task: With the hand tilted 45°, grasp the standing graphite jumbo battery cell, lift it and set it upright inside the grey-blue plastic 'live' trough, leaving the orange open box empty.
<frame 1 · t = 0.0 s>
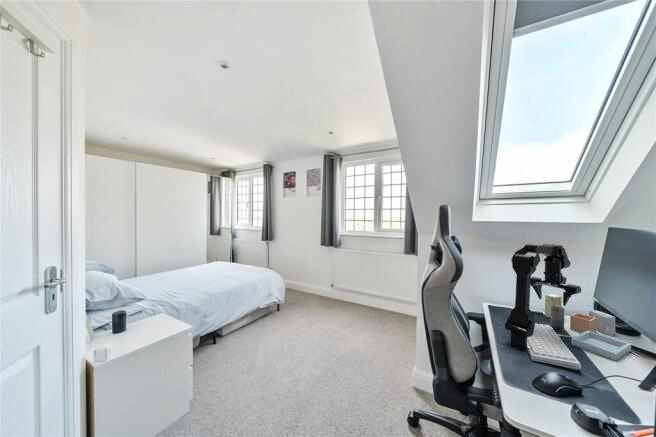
hand: (552, 302, 117), 15 cm above the table, tool pointing down, fingers open, 9 cm apart
orange open box: (582, 330, 119), on the table
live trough: (600, 348, 104), on the table
skincare box: (552, 317, 134), on the table
cell: (557, 329, 120), on the table
medicine box: (601, 331, 118), on the table
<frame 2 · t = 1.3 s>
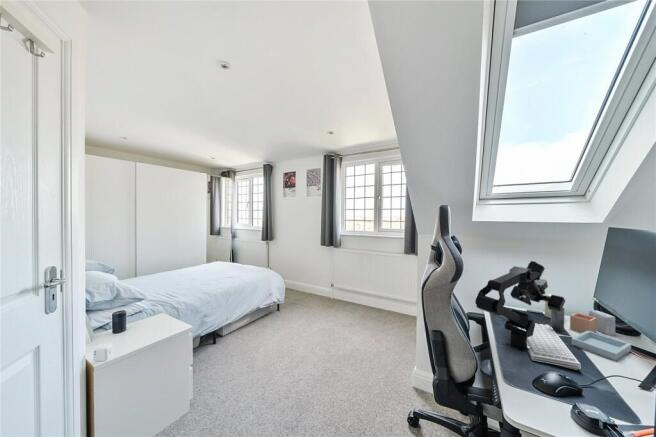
hand: (542, 307, 113), 13 cm above the table, tool tilted 45°, fingers open, 9 cm apart
nothing on the table moved.
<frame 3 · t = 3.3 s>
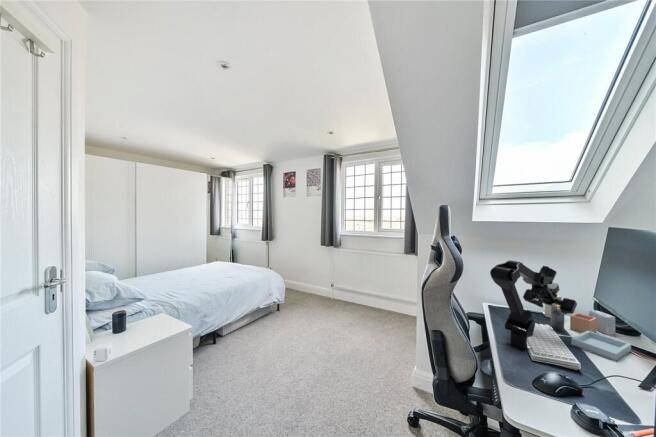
hand: (554, 310, 118), 10 cm above the table, tool tilted 45°, fingers open, 9 cm apart
nothing on the table moved.
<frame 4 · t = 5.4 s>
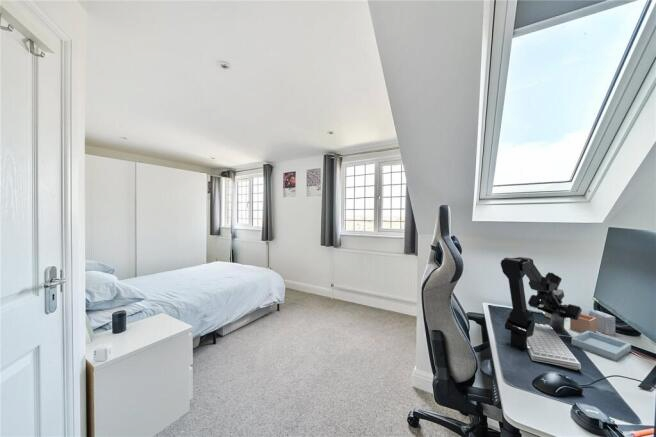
hand: (558, 316, 120), 7 cm above the table, tool tilted 45°, fingers closed on cell, 5 cm apart
cell: (557, 329, 120), on the table, touching gripper
everything else where it was.
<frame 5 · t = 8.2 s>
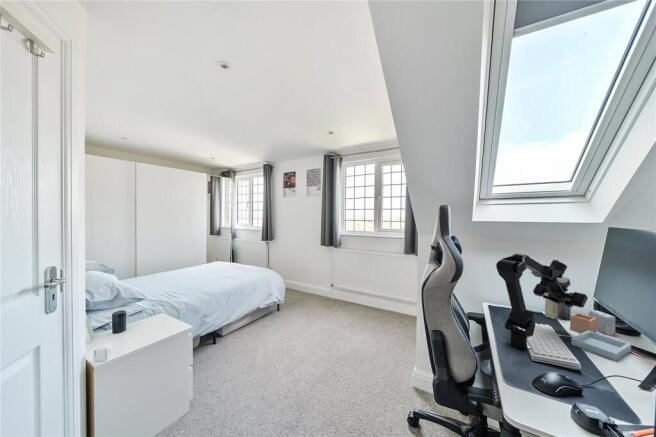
hand: (565, 304, 118), 13 cm above the table, tool tilted 45°, fingers closed on cell, 5 cm apart
cell: (563, 318, 117), point 6 cm above the table, touching gripper
everything else where it was.
when the fingers open (8 cm above the table, at t = 10.9 s): cell stays where it is, resting on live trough.
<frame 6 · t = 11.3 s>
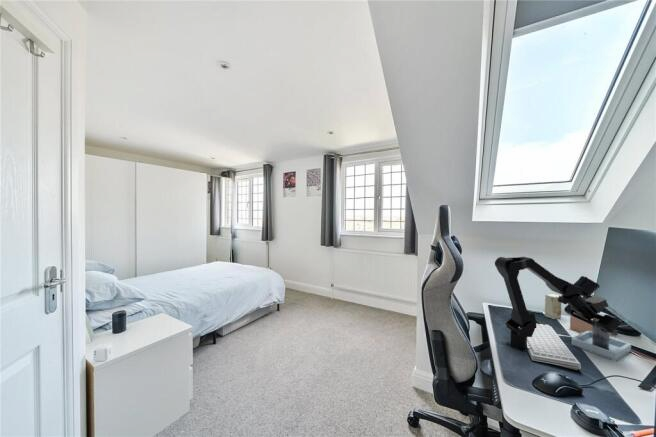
hand: (604, 329, 103), 8 cm above the table, tool tilted 45°, fingers open, 9 cm apart
cell: (600, 346, 103), point 1 cm above the table, touching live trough
everything else where it was.
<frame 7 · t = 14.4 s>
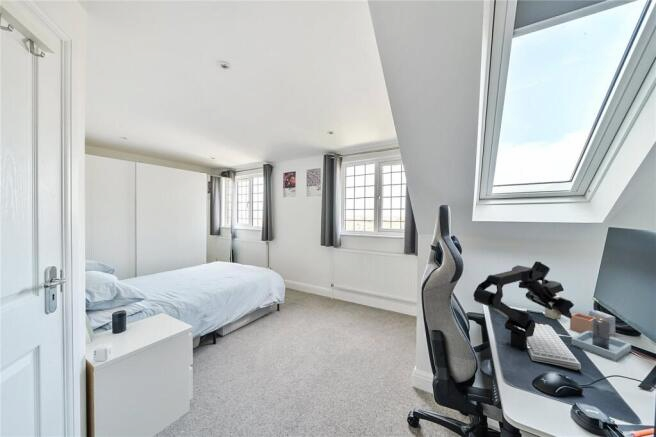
hand: (560, 313, 107), 14 cm above the table, tool tilted 45°, fingers open, 9 cm apart
nothing on the table moved.
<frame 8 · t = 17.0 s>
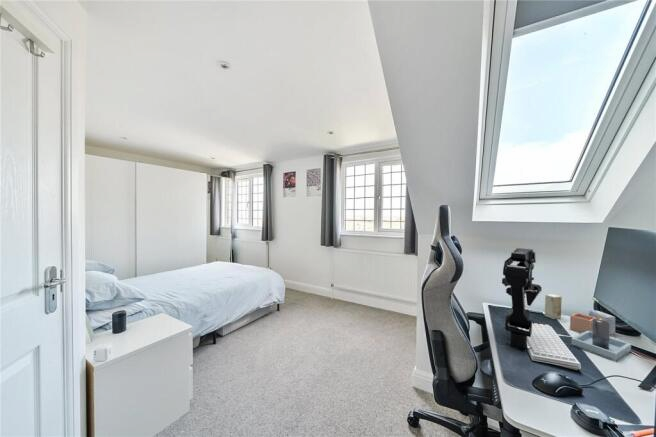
hand: (523, 307, 115), 13 cm above the table, tool pointing down, fingers open, 9 cm apart
nothing on the table moved.
at the end: cell inside the target area on the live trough (0.0 cm from its centre), point 0.6 cm above the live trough's base; cell tilted 0°; the gripper is holding nothing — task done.
